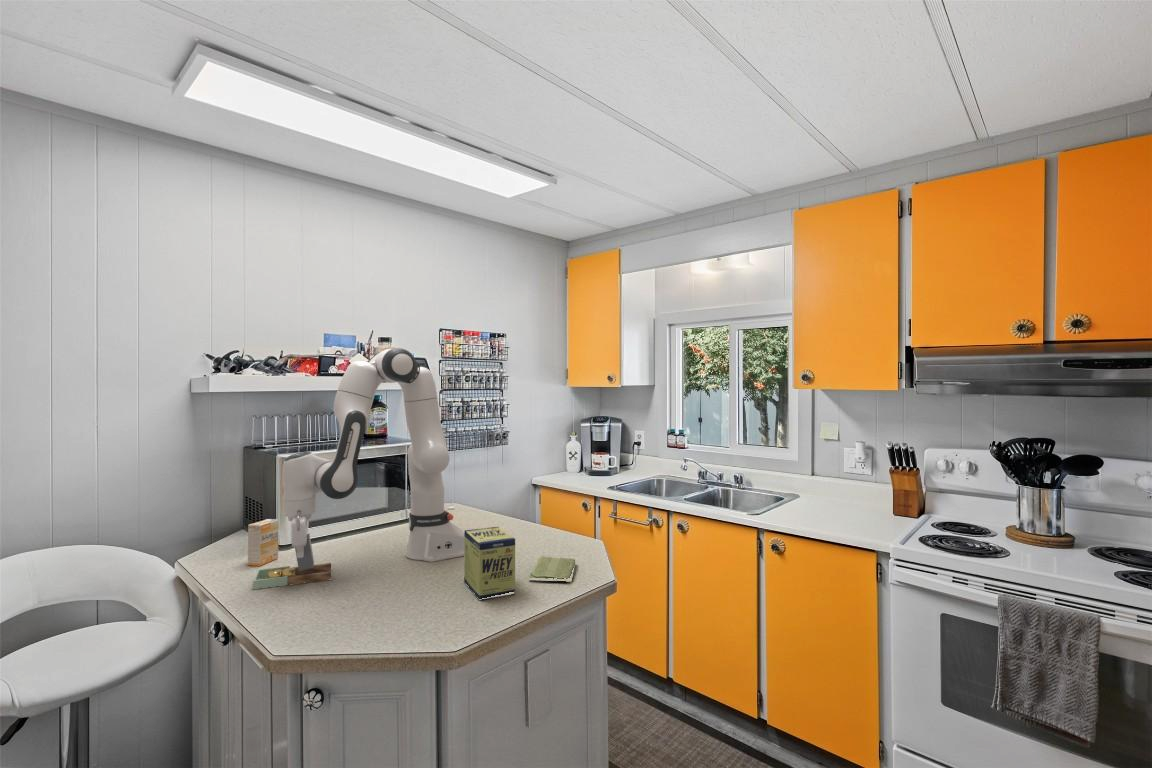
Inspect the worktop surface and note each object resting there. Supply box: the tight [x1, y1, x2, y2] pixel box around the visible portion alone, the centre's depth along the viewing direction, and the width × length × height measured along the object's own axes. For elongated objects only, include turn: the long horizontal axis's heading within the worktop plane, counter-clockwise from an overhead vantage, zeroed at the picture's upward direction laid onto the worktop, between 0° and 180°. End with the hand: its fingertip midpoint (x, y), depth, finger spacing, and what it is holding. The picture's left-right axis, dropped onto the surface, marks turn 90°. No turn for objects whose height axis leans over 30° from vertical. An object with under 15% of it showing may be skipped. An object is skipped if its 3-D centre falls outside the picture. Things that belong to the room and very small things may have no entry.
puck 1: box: [267, 569, 282, 579], centre depth 162 cm, size 4×4×3 cm
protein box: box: [463, 526, 516, 599], centre depth 157 cm, size 10×16×16 cm
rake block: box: [294, 532, 315, 571], centre depth 165 cm, size 4×6×9 cm
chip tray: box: [252, 565, 291, 590], centre depth 161 cm, size 8×10×2 cm
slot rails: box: [287, 562, 332, 586], centre depth 165 cm, size 12×10×2 cm
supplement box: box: [247, 518, 280, 567], centre depth 179 cm, size 8×5×13 cm, turn 168°
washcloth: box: [529, 555, 576, 579], centre depth 170 cm, size 13×18×3 cm
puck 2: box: [282, 567, 296, 577], centre depth 163 cm, size 4×4×3 cm
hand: (301, 553), depth 164 cm, fingers closed on rake block, 5 cm apart
